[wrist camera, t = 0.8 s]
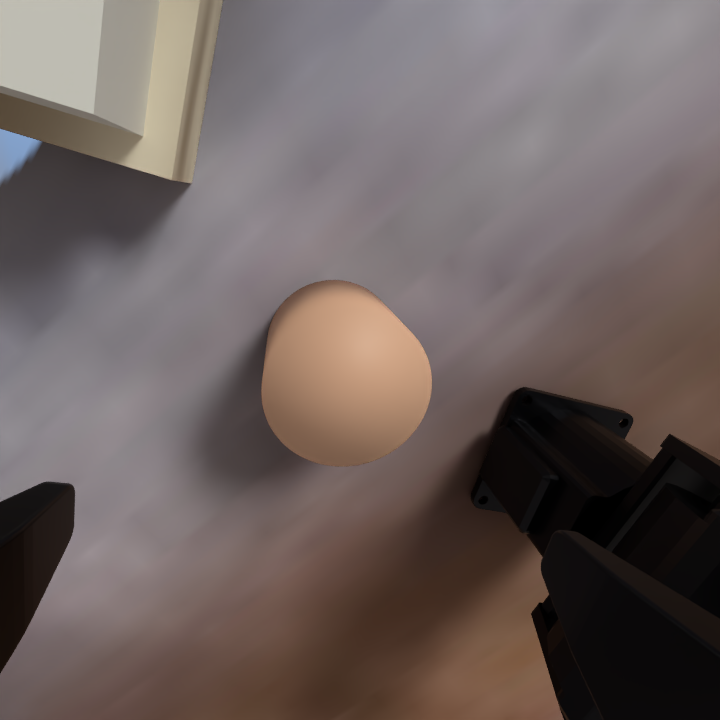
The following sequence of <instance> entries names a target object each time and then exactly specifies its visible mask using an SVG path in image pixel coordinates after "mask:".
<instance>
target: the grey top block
mask: <svg viewBox="0 0 720 720" xmlns="http://www.w3.org/2000/svg"><path fill="white" fill-rule="evenodd" d="M159 4H160V0H0V93H3V94H6V95H9V96H13V97H16V98H19V99H22V100H26V101H29V102H32V103H36V104H39V105H42V106H45V107H49V108H52V109H55V110H58V111H62V112H65V113H68V114H72V115H75V116H78V117H81V118H85V119H88V120H91V121H94V122H98V123H101V124H104V125H108V126H111V127H114V128H117V129H121V130H124V131H127V132H130V133H134V134H137V135H140V136H143V134H144V126H145V118H146V109H147V101H148V93H149V85H150V77H151V69H152V61H153V53H154V44H155V36H156V28H157V20H158V12H159Z"/></svg>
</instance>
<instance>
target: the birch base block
mask: <svg viewBox="0 0 720 720" xmlns="http://www.w3.org/2000/svg"><path fill="white" fill-rule="evenodd" d="M222 3H223V0H160V4H159V12H158V20H157V28H156V36H155V44H154V53H153V61H152V69H151V77H150V85H149V93H148V101H147V109H146V118H145V126H144V134H143V136H140V135H137V134H134V133H130V132H127V131H124V130H121V129H117V128H114V127H111V126H108V125H104V124H101V123H98V122H94V121H91V120H88V119H85V118H81V117H78V116H75V115H72V114H68V113H65V112H62V111H58V110H55V109H52V108H49V107H45V106H42V105H39V104H36V103H32V102H29V101H26V100H22V99H19V98H16V97H13V96H9V95H6V94H3V93H0V129H3V130H7V131H10V132H13V133H17V134H20V135H23V136H26V137H30V138H33V139H36V140H40V141H43V142H46V143H50V144H53V145H56V146H60V147H63V148H66V149H70V150H73V151H76V152H80V153H83V154H86V155H90V156H93V157H96V158H100V159H103V160H106V161H110V162H113V163H116V164H120V165H123V166H126V167H130V168H133V169H136V170H140V171H143V172H146V173H150V174H153V175H156V176H160V177H163V178H166V179H170V180H174V181H180V182H186V183H192V179H193V174H194V168H195V162H196V156H197V150H198V144H199V138H200V133H201V127H202V121H203V115H204V109H205V103H206V97H207V91H208V86H209V80H210V74H211V68H212V62H213V56H214V50H215V45H216V39H217V33H218V27H219V21H220V15H221V9H222Z"/></svg>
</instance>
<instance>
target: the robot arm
mask: <svg viewBox="0 0 720 720" xmlns="http://www.w3.org/2000/svg"><path fill="white" fill-rule="evenodd" d="M525 396H528V398H527V400H526V401H524V402H522V399H523V398H524V397H525ZM621 420H622V421H621ZM620 421H621V423H619V422H620ZM632 424H633V418H632V416H631V415H630V414H628V413H626V412H625V411H623V410H619V409H614V408H610V407H606V406H602V405H598V404H594V403H590V402H585V401H581V400H577V399H573V398H569V397H565V396H561V395H557V394H552V393H548V392H544V391H540V390H536V389H532V388H528V387H523V388H520V389H518V390H517V391H516V392H515V394H514V395H513V397H512V400H511V402H510V404H509V407H508V409H507V411H506V414H505V416H504V418H503V421H502V423H501V425H500V428H499V429H498V430H497V432H496V434H495V437H494V439H493V441H492V444H491V446H490V448H489V451H488V453H487V455H486V458H485V460H484V462H483V465H482V467H481V469H480V474H479V477H478V479H477V481H476V484H475V486H474V488H473V491H472V493H471V500H472V502H473V504H474V505H475V506H476V507H477V508H479V509H485V510H492V511H498V512H504V513H507V514H508V515H509V517H510V518H511V520H512V521H513V522H514V524H515V525H516V527H517V528H518V529H519V531H520V532H521V533H526V535H527V536H528V537H529V539H530V540H531V542H532V543H533V544H534V546H535V547H536V549H537V550H538V551H539V553H540V554H541V555H542V557H543V559H542V561H541V572H542V576H543V579H544V581H545V584H546V587H547V589H548V592H549V595H548V597H547V598H546V599H545V601H544V602H543V603H539V604H538V605H537V606H536V608H535V609H534V610H533V611H532V613H531V615H532V618H533V622H534V625H535V628H536V632H537V635H538V638H539V641H540V645H541V648H542V651H543V655H544V658H545V661H546V664H547V668H548V671H549V674H550V678H551V681H552V684H553V687H554V691H555V694H556V697H557V701H558V704H559V707H560V710H561V713H562V715H563V718H564V720H720V460H718V459H716V458H715V457H713V456H711V455H709V454H707V453H705V452H703V451H701V450H699V449H698V448H696V447H694V446H692V445H690V444H688V443H686V442H684V441H682V440H681V439H679V438H677V437H675V436H673V435H671V434H669V435H668V436H667V438H666V439H665V440H664V441H663V443H662V444H661V445H660V446H661V447H662V449H661V450H660V452H659V453H658V454H657V456H656V457H655V458H654V460H653V459H651V458H650V457H649V456H647V455H646V454H644V453H643V452H641V451H640V450H639V449H637V448H636V447H634V446H633V445H632V444H630V443H629V442H627V441H626V440H624V439H625V437H626V436H627V434H628V432H629V430H630V428H631V426H632ZM482 496H484V497H483V498H482V499H479V498H480V497H482ZM74 510H75V490H74V487H73V486H72V485H71V484H69V483H59V482H43V483H41V484H38V485H36V486H34V487H32V488H30V489H28V490H25V491H23V492H21V493H19V494H17V495H14V496H12V497H10V498H8V499H6V500H3V501H1V502H0V673H1V671H2V670H3V668H4V666H5V665H6V663H7V662H8V660H9V658H10V657H11V655H12V653H13V652H14V650H15V649H16V647H17V645H18V643H19V642H20V640H21V638H22V637H23V635H24V633H25V631H26V629H27V627H28V625H29V623H30V622H31V620H32V618H33V616H34V614H35V611H36V609H37V607H38V605H39V603H40V601H41V599H42V597H43V595H44V593H45V591H46V589H47V587H48V585H49V583H50V580H51V578H52V576H53V574H54V572H55V570H56V568H57V566H58V564H59V562H60V560H61V558H62V556H63V554H64V552H65V550H66V547H67V545H68V543H69V541H70V539H71V536H72V533H73V529H74Z"/></svg>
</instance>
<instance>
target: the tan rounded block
mask: <svg viewBox="0 0 720 720" xmlns="http://www.w3.org/2000/svg"><path fill="white" fill-rule="evenodd" d="M431 390H432V377H431V369H430V365H429V361H428V358H427V356H426V353H425V351H424V349H423V347H422V346H421V344H420V342H419V341H418V340H417V338H416V337H415V336H414V335H413V334H412V333H411V331H410V330H409V329H408V328H407V327H406V326H405V325H404V324H403V323H402V322H401V321H400V320H399V319H398V318H397V317H396V316H395V315H394V314H393V313H392V312H391V311H390V310H389V309H388V308H387V307H386V305H385V304H384V303H383V302H382V301H381V300H380V299H379V298H378V297H376V296H375V295H374V294H373V293H372V292H370V291H369V290H367V289H366V288H364V287H362V286H360V285H357V284H354V283H351V282H347V281H340V280H326V281H320V282H315V283H313V284H310V285H307V286H305V287H303V288H301V289H299V290H297V291H296V292H294V293H293V294H292V295H290V296H289V297H288V298H287V299H286V300H285V301H284V302H283V303H282V304H281V306H280V307H279V308H278V310H277V311H276V313H275V315H274V317H273V319H272V321H271V324H270V327H269V331H268V337H267V345H266V353H265V361H264V370H263V378H262V390H261V397H262V405H263V409H264V413H265V416H266V419H267V421H268V423H269V426H270V427H271V429H272V430H273V432H274V434H275V435H276V436H277V437H278V439H279V440H280V441H281V442H282V443H283V444H284V445H285V446H286V447H287V448H289V449H290V450H291V451H293V452H294V453H296V454H297V455H299V456H301V457H303V458H305V459H307V460H309V461H312V462H315V463H319V464H323V465H328V466H355V465H360V464H365V463H369V462H371V461H374V460H377V459H379V458H381V457H383V456H385V455H387V454H389V453H391V452H392V451H394V450H395V449H397V448H398V447H399V446H400V445H402V444H403V443H404V442H405V441H406V440H407V439H408V438H409V437H410V436H411V435H412V434H413V432H414V431H415V430H416V429H417V427H418V426H419V424H420V422H421V421H422V419H423V417H424V415H425V413H426V410H427V408H428V404H429V401H430V396H431Z"/></svg>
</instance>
